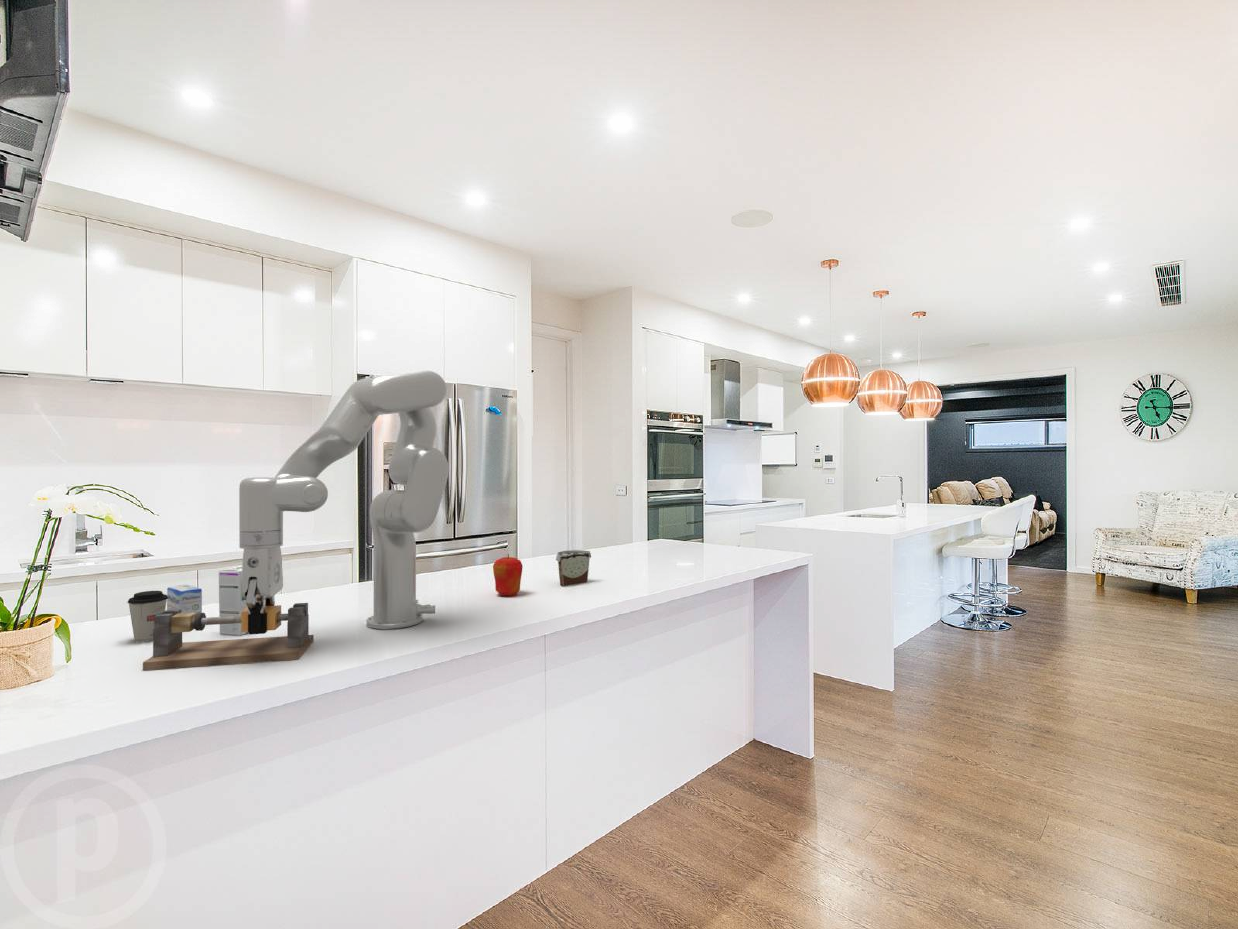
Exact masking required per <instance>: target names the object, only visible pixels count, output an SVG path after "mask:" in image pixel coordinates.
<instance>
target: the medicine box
mask: <svg viewBox="0 0 1238 929" xmlns="http://www.w3.org/2000/svg"><path fill="white" fill-rule="evenodd" d="M166 592H167V594H166V595H167V596H168V599H167V601H166V610H172V609H181V613H203V608H202V607H203V590H202V588H199V587H196V586H193V585H189V584H181V585H174V586H173V585H172V586H168V587H167V591H166Z"/></svg>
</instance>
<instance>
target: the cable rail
mask: <svg viewBox="0 0 1238 929" xmlns="http://www.w3.org/2000/svg"><path fill="white" fill-rule="evenodd" d="M309 616H310V615H309V602H299V603H297V602H296V603H294V604H293V605H292V606H291V607H289V608H288V609H287V613H281V614H277V621H281V622H283V621H286V622H287V623H286V626H287V627H286V628H287V633H286V634H287V635H286V636H272V637H271V636H269V637H268V636H267V637H254V638H252V637H251V638H238V639H220V640H219V639H218V640H205V641H204V640H203V641H200V640H199V641H187V642H183V633H190V632H192V631H194V630H195V631H196V632H200V631H203V630H204V629H205V627H206V626H209V625H210V626H212V625H220V624H234V623H241V616H229V617H219V616H216V617H215V616H214V617H212V616H211V617H207V616H206V613H205V612H202V613H181V609H172V610H167V609H165V611H164V612H163V614H158V615H156V616H154V629H153V641H152V656H151V657H149V658H148V659H146V660H144V661H143V662H142V671H154V670H155V671H156V670H168V669H172V670H173V669H184V668H185V669H186V668H197V667H200V668H202V667H210V666H211V667H212V666H213V667H215V666H225V665H226V666H227V665H242V664H244V665H245V664H257V663H273V662H285V661H298V660H300V658H301V657H302V656H303V655H304V654H305V653H306V651H308V649H309V648H310V647H311V645H312V644H313V643H314V642H315V634H310V631H309V628H310V626H309V625H310V624H309V623H310V622H309Z"/></svg>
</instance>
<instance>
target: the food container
mask: <svg viewBox="0 0 1238 929" xmlns="http://www.w3.org/2000/svg"><path fill="white" fill-rule="evenodd" d="M590 558H592V553H591V551H590V550H583V549H581V550H579V549H574V550H562V551H558V552H557V554H556V558H555V561H557V564H558V575H559V576H558V577H559V585H560V587H563V588H565V587H571V586H576V585H582V584H583V585H584V584H588V583H589V582H588V581H589V570H590V568H589V567H590Z"/></svg>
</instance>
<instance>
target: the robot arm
mask: <svg viewBox="0 0 1238 929" xmlns="http://www.w3.org/2000/svg"><path fill="white" fill-rule="evenodd" d="M446 396H447V385H446V382H445V380H444V378H443V377H442V376H441V375H440V374H438V373H437V372H435V371H430V370H423V371H416V372H410V373H409V372H408V373H404V374H392V375H380V376H375V377H368V378H362V379H358V380H356V381H354V382H353V383H352V384H351V385H350V386H349V388H348V389H346V391H345V393H344V394H343V396H342V397H341V398H340V400H339V402H338V403H337V404H336V405H335V407H334V408H333V410H332V411H331V413H330V414H329V415H328V417H327V418H326V420H325V421H324V423H323V424H321V426H320V427H319V428H318V429H317V430H316V432H314V433H313V434H312V435H311V436H310V437H308V439H306V441H304V443H302V444H301V445H300V446H299V447H298V448H297V449H296V450H295V451H294V452H293V453H292V454H291V455H290V456H289V457H288V459H286V460H285V462H284V464H283V466H282V467H281V468H280V469H279V470H278V472H277V473H276V475H275V476H274V477H261V476H260V477H248V478H247V477H246V478H243V479H242V480H241V481H240V483H239V489H238V490H239V491H238V492H239V493H238V494H239V500H238V502H239V504H238V505H239V506H238V507H239V512H238V513H239V517H238V518H239V524H238V526H239V527H238V528H239V529H238V530H239V535H238V536H239V544H238V545H239V548H240V549H243V552H242V553H243V554H242V565H241V566H242V596H243V597H244V598H245V599H246V605H247V606H248V633H247V634H248V635H262V634H263V635H264V634H266V633H267V632H268V631H267V613H265V606H276V603H275V602H276V601H275V595H276V594H278V593H279V592H280V591H282V590H283V588H284V575H283V558H282V557H283V556H282V549H281V547H282V546H283V545H284V512H296V513H297V512H298V513H310V512H313V511H314V512H315V511H316V510H319V509H320V508H322V507H323V506H324V505H325V504H326V502H327V499H328V497H329V491H328V488H327V486H326V484H325V483H324V482H323V481H322V480H320V479H319V478H318V477H319V476H320V475H321V474H322V473H323V471H324V470H326V469H327V468H328V467H329V466H331V465H332V464H334V463H336V462H337V461H339V460H341V459H343V458H345V457H347V456H349V455H351V454H352V453H353V452H354V451H356V450H357V448H358V447H359V446H360V444H361V443H362V441H363V439H364V438H365V437H366V435H367V433H368V432H369V430H370V429H371V427H372V426H373V425H374V423H375V422H376V420H377V419H378V418H379V416H380V415H381V416H383V415H390V414H391V415H392V414H393V415H394V414H398V416H399V420H400V427H399V431H398V434H397V438H396V442H395V445H394V449H393V451H392V454H391V457H390V460H389V464H388V475H389V478H390V479H391V481H392V482H394V484H397V485H400V486H405V489H404V490H403V489H388V490H383V491H381V492H379V493H378V494H377V495H376V496H375V497H374V498H373V500H372V501H371V504H370V507H369V520H370V526H371V531H372V532H371V533H372V540H373V615H371V616H369V617H368V618H367V619H366V626H367V627H369V628H373V629H376V630H377V629H379V630H390V629H391V630H394V629H401V628H402V629H403V628H408V627H412V626H414V625H418V624H420V623H421V622H423V619H424V617H423V616H424V615H423V614H425V615H426V614H427V615H430V614H431V615H432V614H435V615H436V605H435V604H434V605H433V604H432V605H431V604H421V603H419V599H417V545H416V539H415V535H414V533H422V532H425V531H426V530H428V529H430V527H432V525H433V524H434V522H435V520H436V518H437V515H438V513H439V510H440V507H441V506H440V505H441V502H442V499H443V495H444V494H445V493H444V492H445V489H446V485H447V481H448V477H449V472H450V470H449V469H450V468H449V463H448V459H447V457H446V455H445V454H444V452H442V451H441V450H440V449H438V448H436V447H433V446H434V444H435V439H436V435H437V423H436V419H435V416H434V413H433V411H432V410H431V408H433V407H436V406H438V405H439V404H441V403H442V402H443V401H444V399H445V397H446ZM256 595H258V598H256ZM256 601H258V602H256Z"/></svg>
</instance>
